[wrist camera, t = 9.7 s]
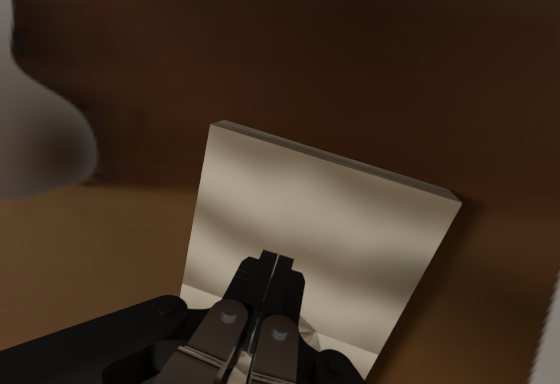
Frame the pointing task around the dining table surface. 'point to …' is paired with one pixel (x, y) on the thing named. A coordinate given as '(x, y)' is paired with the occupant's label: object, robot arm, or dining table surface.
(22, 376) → the robot arm
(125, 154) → the dining table surface
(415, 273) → the board
